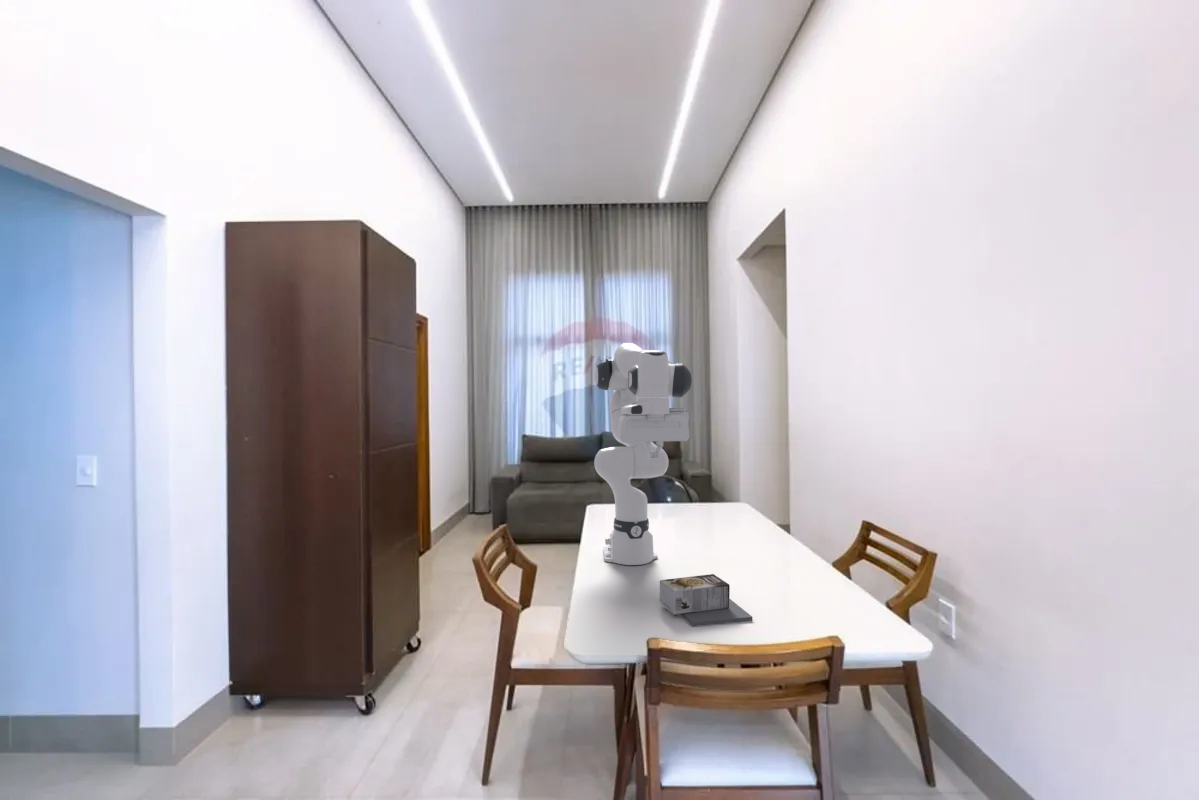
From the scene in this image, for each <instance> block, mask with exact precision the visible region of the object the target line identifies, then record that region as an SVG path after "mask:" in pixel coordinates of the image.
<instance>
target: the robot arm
mask: <svg viewBox="0 0 1199 800" xmlns="http://www.w3.org/2000/svg"><path fill="white" fill-rule="evenodd" d="M613 355H614V356H613V359H609V357H607V358H605V360H602V361H601V362H599V363H598V364H597V365H596V367H595V368H594V369H595V370H594V374H593V378H594V382H595V384H596V387H597V388H598V389H599V390H603V391H613V392H612V393H611V395H610V402H609V417H610V418H609V419H610V426H611V434H612V436H613V438H614V439H615V440H616V441H617V442H618V443H620V444H622V445H624V446H609V447H604V448H601V449H599V450H598V452H597V453H596V454H595V457H594V461H593V462H594V463H593V465H594V469H595V472H596V473H597V475H599V476H600V478H602V479H603V480H604V481H605V482H606V483H607V484H608V486H610V489H611V491H612V494H613V497H614V507H615V516H614V519H613V520H614V521H613V530H612V531H611V533H610V534H609V537H606V538H605V540H604V541H605V542H604V543H605V545H607V546H604V547H603V549H602V552H603V560H604V562H607V563H615V564H618V565H623V566H625V565H626V566H640V565H646V564H649V563H651V562H652V561H653V560H656V559H658V558H659V557H658V554H656V553H655V551H654V535H653V534H652V533H651V532H650V531H649V529H650V520H649V518H648V497H647V495H646V493H645V492H643V490H641V489H639V488H637V487H635V486H632V484H631V480H632V479H654V478H657V477H661V476H664V475H665V473H666V472H667V470H668V468H669V462H670V460H669V457H668V454H667V453H666V451H665V450H664V449H663V447H664V442H687V441H688V440H689V439H690V428H689V427H690V426H689V421H690V413H689V411H687V410H686V409H685V408H683V407H680V408H677V407H675V408H674V407H671V406H670V405H671V404H670V403H671V400H670V397H672V398H680V399H681V398H683V397H684V396H685V395H686V394H687V393H688V392H689V391H690V390H691V386H692V373H691V371H690V370H689V368H688V367H687V366H686V365H685V364H684V363H673V362H671V361H670V360H669V356H668V353H667V352H665V351H663V350H656V349H654V350H653V349H649V350H645V349H643V348H642V347H641V346H640V345H638V344H636V343H632V342H625V343H622V344H620V345H618V347H617V348H616V349H615V351H614V354H613ZM654 442H655V443H654Z"/></svg>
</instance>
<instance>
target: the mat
mask: <svg viewBox="0 0 1199 800" xmlns="http://www.w3.org/2000/svg"><path fill="white" fill-rule="evenodd" d="M680 615H681V616H682V617H683V619H685V620H686V621H687V622H688V623H689V624H690V625H691V627H702V626H712V625H722V624H734V623H742V622H752V621H753V616H752V614H749V612H747V611H746V610H745V609H743V608H742V607H741V606H740V605H738V604H737V603H736V602H735V601H734V600H732V599H731V598H730V597H729V608H724V609H716V610H708V611H700V612H691V613H683V614H680Z"/></svg>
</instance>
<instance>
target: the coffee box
mask: <svg viewBox="0 0 1199 800" xmlns="http://www.w3.org/2000/svg"><path fill="white" fill-rule="evenodd" d="M658 585H659V603H660V604H661V605H662V606H663V607H664V608H665V609H667V611H668V612H670V613H671V615H675V616H676V615H681V614H683V613H691V612H700V611H708V610H716V609H724V608H729V598H730V592H731V591H730V584H729V583H727V582H726V581H725V580H723V579H722V578H720V577H718V576H717V575H715V574H714V573H711V574H702V575H694V576H684V577H677V578H676V577H675V578H667V579H660V580H659V584H658Z"/></svg>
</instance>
